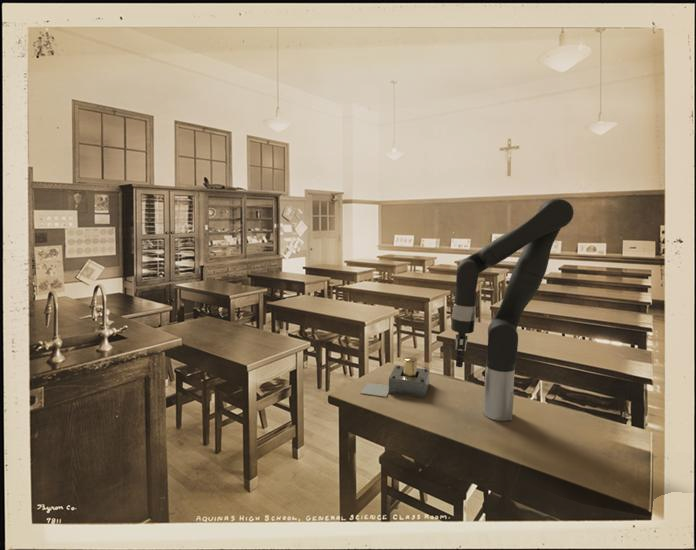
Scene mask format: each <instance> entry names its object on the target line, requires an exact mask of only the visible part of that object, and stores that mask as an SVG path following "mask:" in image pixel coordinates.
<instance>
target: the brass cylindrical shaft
mask: <svg viewBox="0 0 696 550" xmlns="http://www.w3.org/2000/svg"><path fill="white" fill-rule="evenodd" d="M403 366H404V372H403V376H406V377H414V378H416V369H417V368H418V367H417V366H418V358H416V357H415V356H414V357H413V356H406V357H404V358H403Z"/></svg>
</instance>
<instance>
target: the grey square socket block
mask: <svg viewBox="0 0 696 550" xmlns="http://www.w3.org/2000/svg"><path fill="white" fill-rule="evenodd" d="M430 371H431V370H430V369H428V368H419V367H417V369H416V378H414V377H406V376H403V372H404V365H395V366H394V367H393V370H392V372H391V373H390V375H389V377H388V386H389V393H388V394H394V395H401V396H407V397H414V398H421V399H422V398H423V399H426V396H427V394H428V389H429V385H430Z"/></svg>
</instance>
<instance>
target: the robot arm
mask: <svg viewBox="0 0 696 550" xmlns="http://www.w3.org/2000/svg"><path fill="white" fill-rule="evenodd" d="M573 218H574V207H573V205H572V204H571V203H570V202H568V201H567V200H566V199H562V198H554V199H549V200H546V201H545V202H544V203H541V205H540V207H539V209H538V211H537V212H536V213H535V214H534V215H533V216H532V217H530V218H529V219H528V220H527V221H525V222H523V223H521V224H520V225H519V226H516V227H515V228H514V229H512V230H510V231H508V232H506V233H503V235H501V236H499V237H497V238H495V239H494V240H493V241H490V242H489V243H488V244H487V245H485V246H483V247H482V248H480V249H479V250H478V251H476V252H474V253H473V254H471V255H469V256H467V257H465V258H464V259H462V260H461V261H460V262H459V263H458V265H457V269H456V279H455V283H456V286H455V287H456V288H455V292H454V301H453V308H452V312H451V315H452V316H451V325H450V326H451V327H450V328H451V330H452V332H455V333H458V334H455V350H456V353H455V355H456V356H455V357H456V360H455V367H456V368H463V365H464V357H465V355H466V354H465V352H466V350H467V343H468V335H466V334H472V333H474V330H475V321H476V302H477V287H478V281H479V274H481V273H483V272H484V271H485V270H487V269H488V268H490V267H491V268H492V267H494V266H496V265H498V264H500V263H501V262H503V261H504V260H506V259H507V258H509V257H510V256H512V255H514V254H515V253H516V252H518V251H520V250H521V249H522V248H523V250H521V253H520V255H519V258H518V260H516V261H517V262H516V264H515V266H514V269H513V271H512V272H511V275H510V277H509V281H508V282H507V286H506V288H505V292H504V294H503V295H504V296H503V299H502V301H501V304H500V306H499V307H498V309H497V311H496V314H495V315H494V316H493V317H492V320H491V322H490V323H489V325H488V328H487V350H486V351H487V352H486V358H485V360H486V361H485V375H484V387H483V388H484V391H483V392H484V393H483V406H482V414H483V415H484V416H485V417H486V418H488V419H491V420H493V421H498V422H502V421H503V422H504V421H513V411H514V398H515V397H514V396H515V393H514V387H515V374H516V371H515V370H516V364H517V358H518V357H517V356H518V347H519V334H518V331H517V329H518V325H519V323H520V320H521V317H522V315H523V312H524V310H525V309H526V307H527V306H528V304H529V303H530V302H531V301H532V299H533V298H534V296H535V295H536V293H537V292H538V290H539V289H540V286H541V284H542V282H543V279H544V277H545V275H546V273H547V269H548V264H549V260H550V256H551V251H552V248H553V246H554V245H553V244H554V243H555V241H556V238H557V236H558V235H559V233H560V231H561V230H562V228H564V227H565V228H566V226H568V225H569V224H570V223H571V221H572V219H573Z"/></svg>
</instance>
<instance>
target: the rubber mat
mask: <svg viewBox="0 0 696 550" xmlns="http://www.w3.org/2000/svg"><path fill="white" fill-rule="evenodd" d="M388 394H390V393H389V384H387V385H386V384H380V383H379V384H378V383H371V382H366V384H365V385H364V387H363V388H362V390H361V392H360V395H367V396H372V397H373V396H374V397H382V398H387V397H388Z"/></svg>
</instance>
